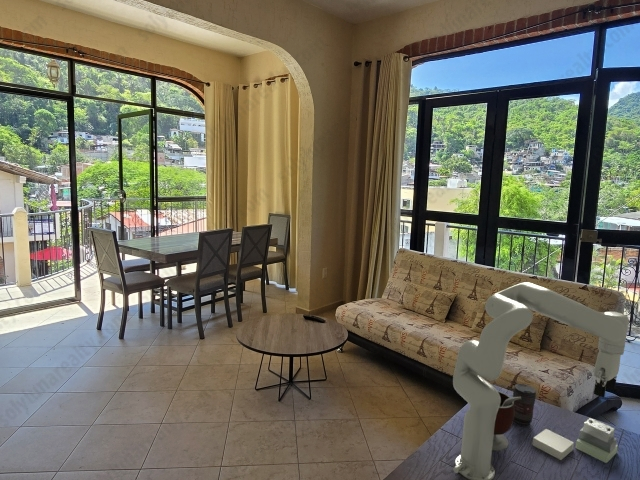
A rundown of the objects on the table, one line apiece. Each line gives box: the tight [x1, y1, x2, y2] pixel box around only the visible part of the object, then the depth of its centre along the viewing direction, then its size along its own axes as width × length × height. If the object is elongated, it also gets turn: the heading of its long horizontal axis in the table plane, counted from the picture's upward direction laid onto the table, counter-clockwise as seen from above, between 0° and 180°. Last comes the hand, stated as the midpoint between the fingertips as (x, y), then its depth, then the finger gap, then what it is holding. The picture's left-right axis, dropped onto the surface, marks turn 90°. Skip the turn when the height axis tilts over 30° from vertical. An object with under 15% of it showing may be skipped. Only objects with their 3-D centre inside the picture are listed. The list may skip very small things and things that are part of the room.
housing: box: [578, 417, 618, 453], centre depth 150 cm, size 10×6×7 cm, turn 37°
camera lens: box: [512, 383, 537, 428], centre depth 166 cm, size 8×8×15 cm
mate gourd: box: [492, 390, 521, 452], centre depth 153 cm, size 16×14×20 cm
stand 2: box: [575, 438, 619, 464], centre depth 150 cm, size 10×10×3 cm
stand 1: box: [532, 428, 575, 461], centre depth 151 cm, size 10×10×3 cm
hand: (604, 391), depth 147 cm, fingers open, 9 cm apart
